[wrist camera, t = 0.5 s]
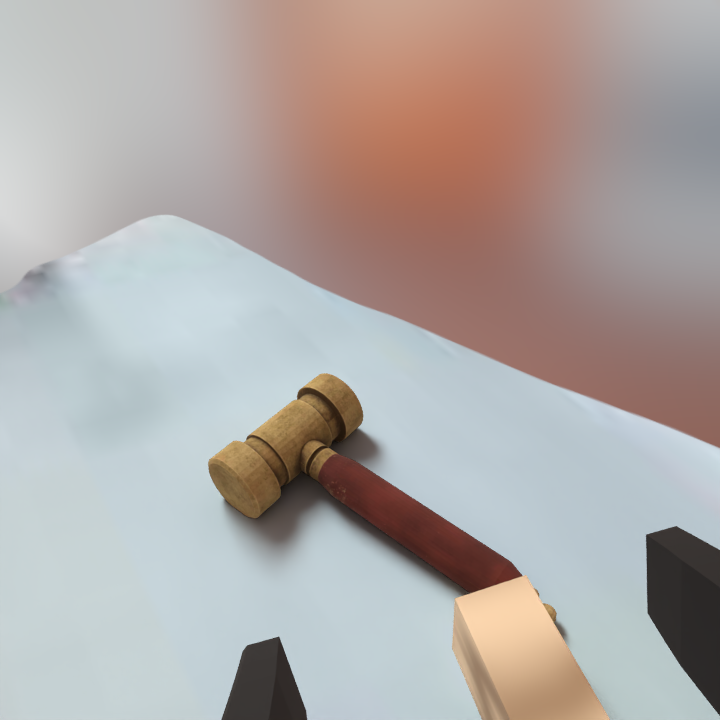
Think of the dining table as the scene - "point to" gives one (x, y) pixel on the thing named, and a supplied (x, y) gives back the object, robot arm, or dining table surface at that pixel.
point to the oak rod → (518, 658)
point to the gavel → (347, 483)
